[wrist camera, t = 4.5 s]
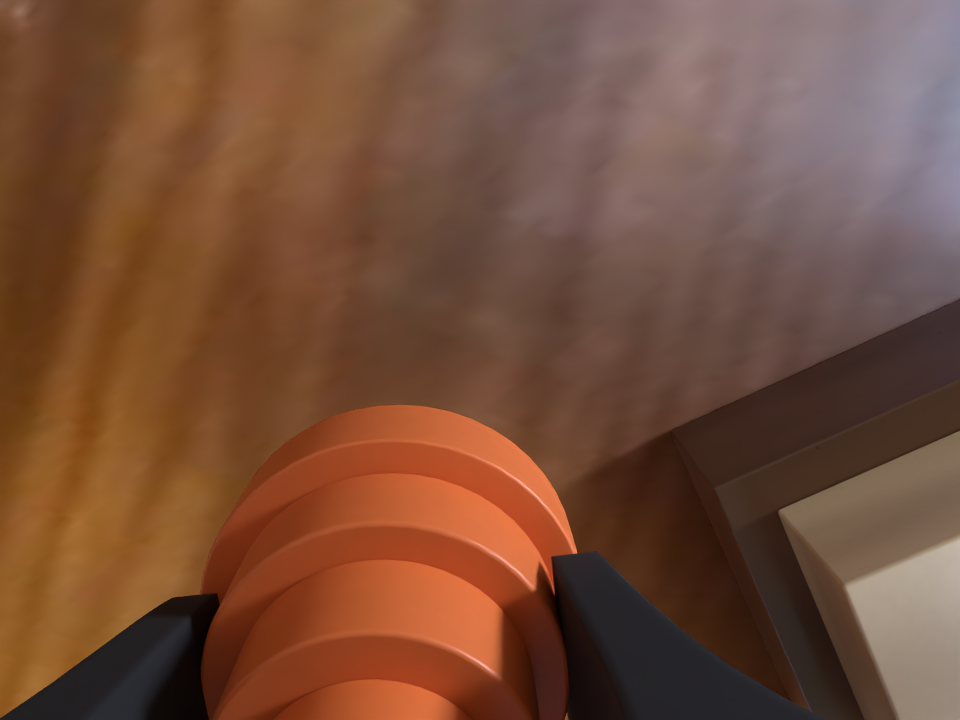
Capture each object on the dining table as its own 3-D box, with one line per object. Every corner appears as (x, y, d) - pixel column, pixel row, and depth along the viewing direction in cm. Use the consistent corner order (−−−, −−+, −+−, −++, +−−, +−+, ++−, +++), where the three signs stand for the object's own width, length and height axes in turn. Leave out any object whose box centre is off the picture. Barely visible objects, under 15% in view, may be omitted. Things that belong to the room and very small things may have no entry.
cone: (586, 697, 14) (669, 1054, 8) (260, 733, 14) (134, 1111, 8) (559, 385, 12) (639, 570, 7) (197, 424, 12) (-5, 642, 7)
